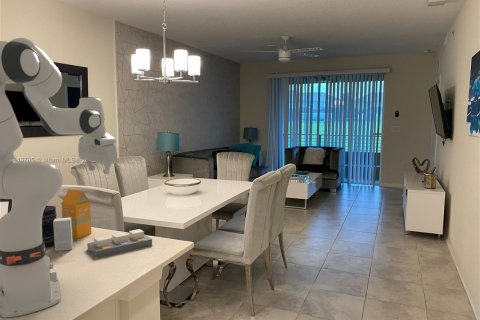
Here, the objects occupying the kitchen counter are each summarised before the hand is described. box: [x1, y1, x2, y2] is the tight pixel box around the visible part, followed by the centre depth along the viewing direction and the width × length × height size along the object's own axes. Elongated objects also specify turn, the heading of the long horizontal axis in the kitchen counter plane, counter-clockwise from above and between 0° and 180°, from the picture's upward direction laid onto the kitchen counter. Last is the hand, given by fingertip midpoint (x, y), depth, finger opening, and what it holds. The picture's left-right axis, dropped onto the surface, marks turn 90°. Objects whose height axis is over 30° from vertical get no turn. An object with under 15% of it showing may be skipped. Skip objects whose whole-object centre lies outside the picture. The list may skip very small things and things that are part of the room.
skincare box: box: [53, 217, 74, 252], centre depth 142 cm, size 6×4×12 cm
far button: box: [128, 228, 145, 240], centre depth 149 cm, size 4×4×3 cm
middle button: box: [111, 231, 128, 244], centre depth 145 cm, size 4×4×3 cm
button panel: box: [87, 234, 153, 259], centre depth 145 cm, size 11×22×3 cm, turn 129°
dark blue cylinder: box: [42, 205, 57, 249], centre depth 146 cm, size 10×10×15 cm
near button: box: [93, 235, 111, 248], centre depth 140 cm, size 4×4×3 cm
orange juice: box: [60, 189, 92, 239], centre depth 158 cm, size 8×9×20 cm
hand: (99, 172), depth 147 cm, fingers open, 8 cm apart
